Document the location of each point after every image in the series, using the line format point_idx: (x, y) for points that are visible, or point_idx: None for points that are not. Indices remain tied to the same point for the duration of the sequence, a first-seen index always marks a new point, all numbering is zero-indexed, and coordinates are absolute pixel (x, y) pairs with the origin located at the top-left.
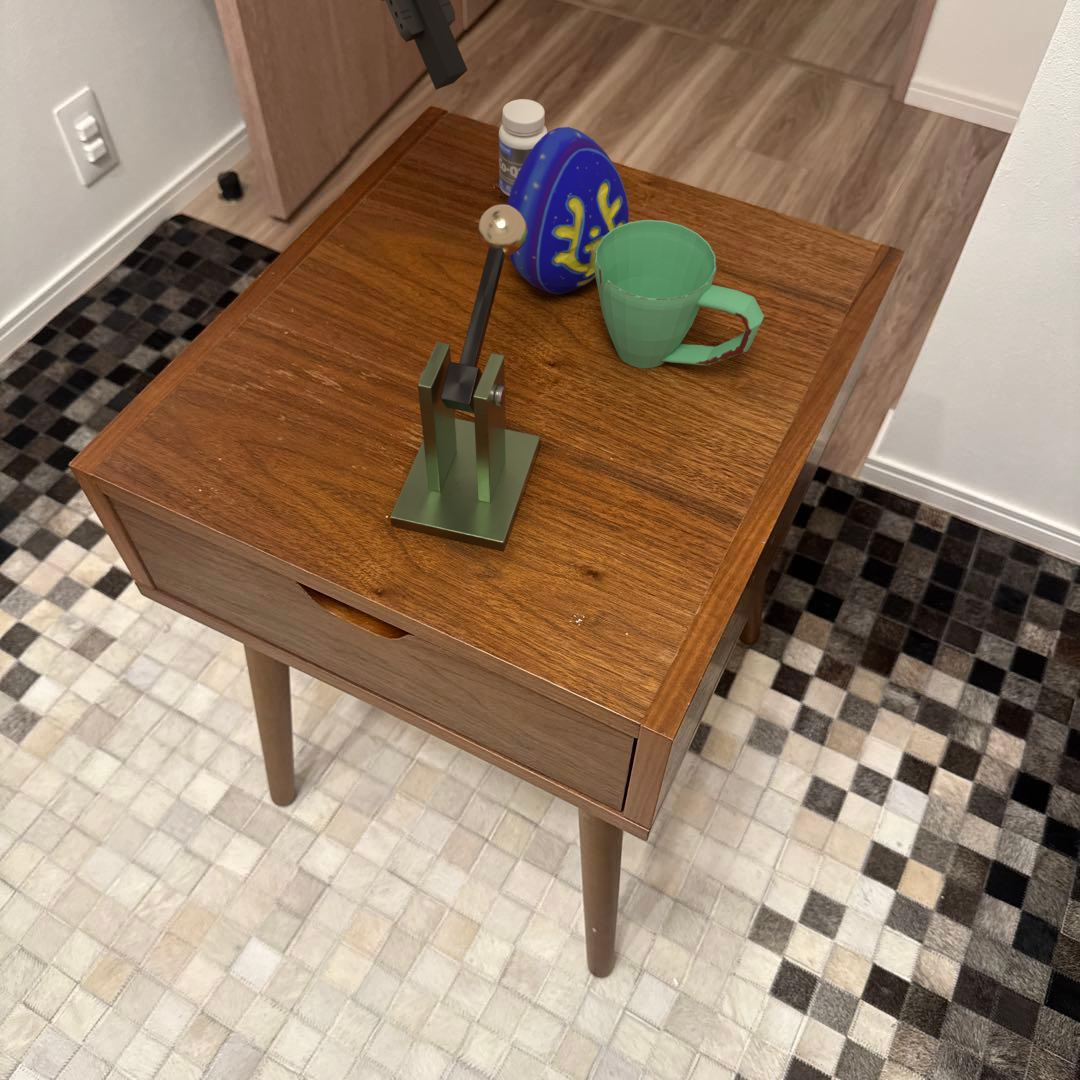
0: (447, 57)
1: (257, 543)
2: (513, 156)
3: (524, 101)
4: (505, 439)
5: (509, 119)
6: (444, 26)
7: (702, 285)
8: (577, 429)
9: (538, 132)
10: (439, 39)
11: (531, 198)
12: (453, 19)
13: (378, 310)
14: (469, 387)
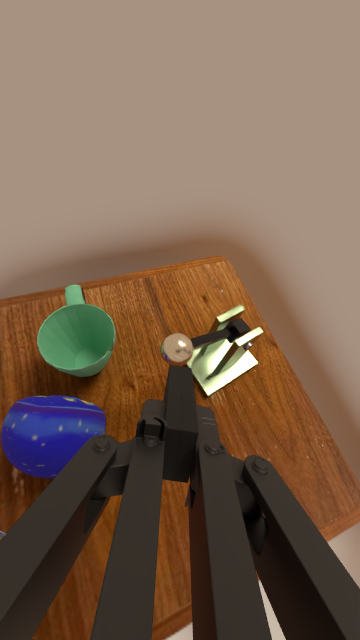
0: (185, 375)
1: (308, 398)
2: None
3: None
4: (191, 359)
5: None
6: (173, 388)
7: (60, 326)
8: (156, 348)
9: None
10: (186, 384)
11: (87, 424)
12: (150, 399)
13: (176, 502)
14: (238, 320)
